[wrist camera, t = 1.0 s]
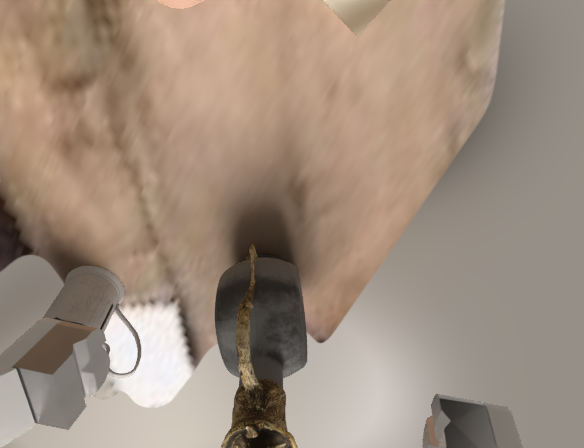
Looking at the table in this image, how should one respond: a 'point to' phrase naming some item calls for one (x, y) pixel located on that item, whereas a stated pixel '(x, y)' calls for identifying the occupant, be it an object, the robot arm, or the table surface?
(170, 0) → the post
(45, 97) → the table surface
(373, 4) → the peg stand
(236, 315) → the pitcher
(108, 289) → the glass holder
